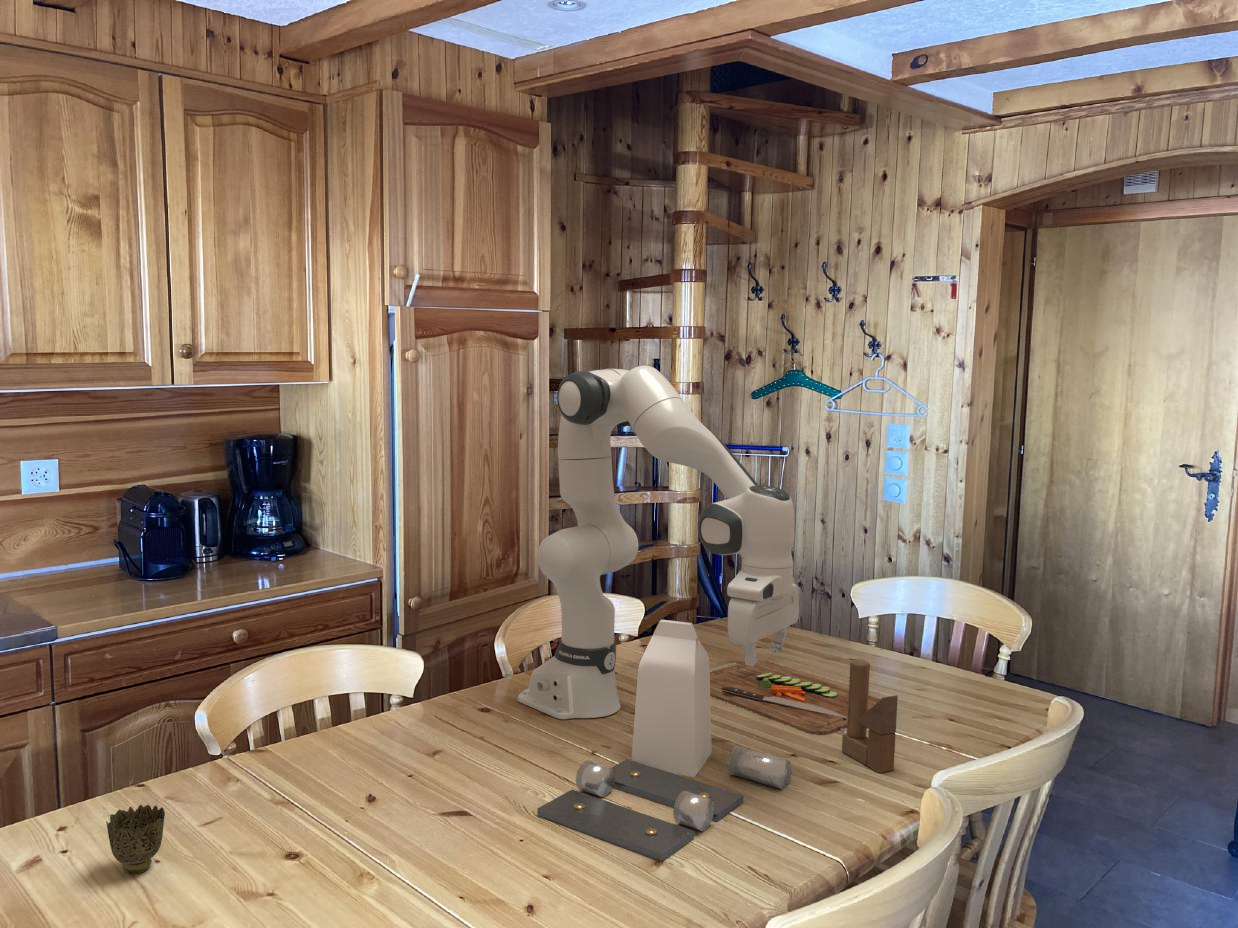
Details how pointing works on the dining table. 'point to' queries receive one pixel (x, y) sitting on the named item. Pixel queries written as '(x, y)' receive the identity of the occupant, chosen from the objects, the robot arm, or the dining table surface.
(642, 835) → the hinge base
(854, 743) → the wooden block
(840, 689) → the chopping board
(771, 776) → the knuckle
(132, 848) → the cup
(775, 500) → the robot arm
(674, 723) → the milk
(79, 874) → the dining table surface
